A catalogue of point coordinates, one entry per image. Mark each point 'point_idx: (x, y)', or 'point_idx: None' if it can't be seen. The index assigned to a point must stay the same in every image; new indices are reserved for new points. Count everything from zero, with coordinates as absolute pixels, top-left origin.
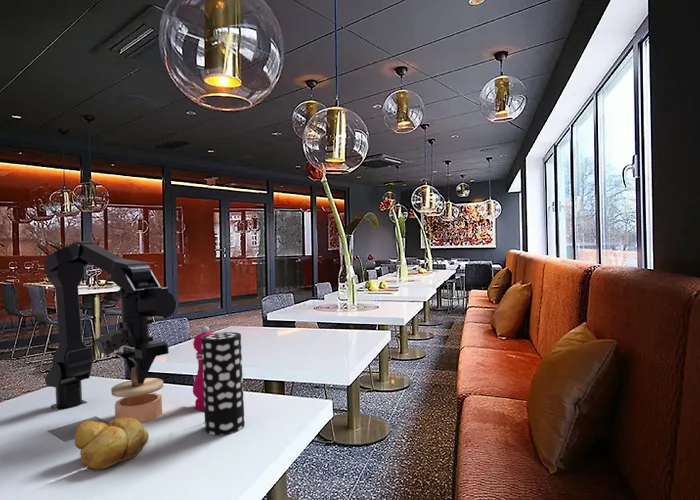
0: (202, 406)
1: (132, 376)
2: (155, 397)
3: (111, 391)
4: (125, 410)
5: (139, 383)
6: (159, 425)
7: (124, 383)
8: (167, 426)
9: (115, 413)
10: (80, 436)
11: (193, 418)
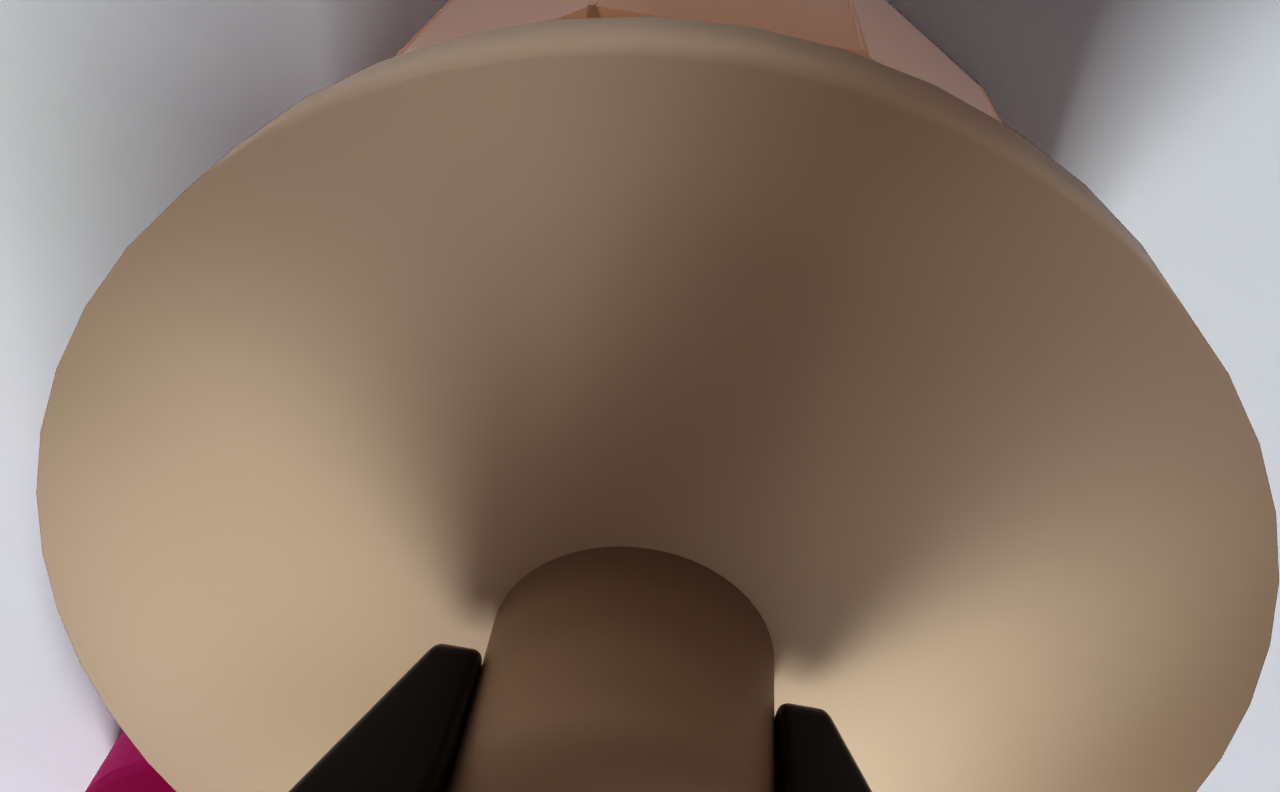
0: None
1: (588, 769)
2: None
3: (1002, 142)
4: (484, 30)
5: (435, 651)
6: (141, 212)
7: (1120, 641)
8: (10, 230)
9: (839, 2)
10: None
11: (21, 518)
